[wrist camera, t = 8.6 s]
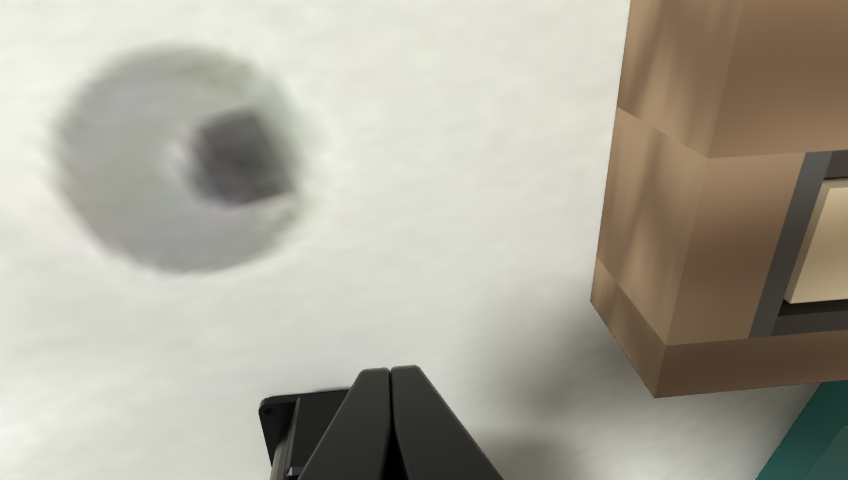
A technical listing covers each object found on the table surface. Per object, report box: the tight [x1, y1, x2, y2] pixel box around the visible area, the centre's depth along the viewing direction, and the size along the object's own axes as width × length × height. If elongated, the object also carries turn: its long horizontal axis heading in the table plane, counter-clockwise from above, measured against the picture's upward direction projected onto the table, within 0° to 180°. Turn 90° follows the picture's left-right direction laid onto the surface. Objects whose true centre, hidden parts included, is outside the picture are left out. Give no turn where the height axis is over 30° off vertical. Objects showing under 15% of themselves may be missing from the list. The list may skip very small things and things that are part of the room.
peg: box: [784, 176, 848, 304], centre depth 19 cm, size 4×4×6 cm
